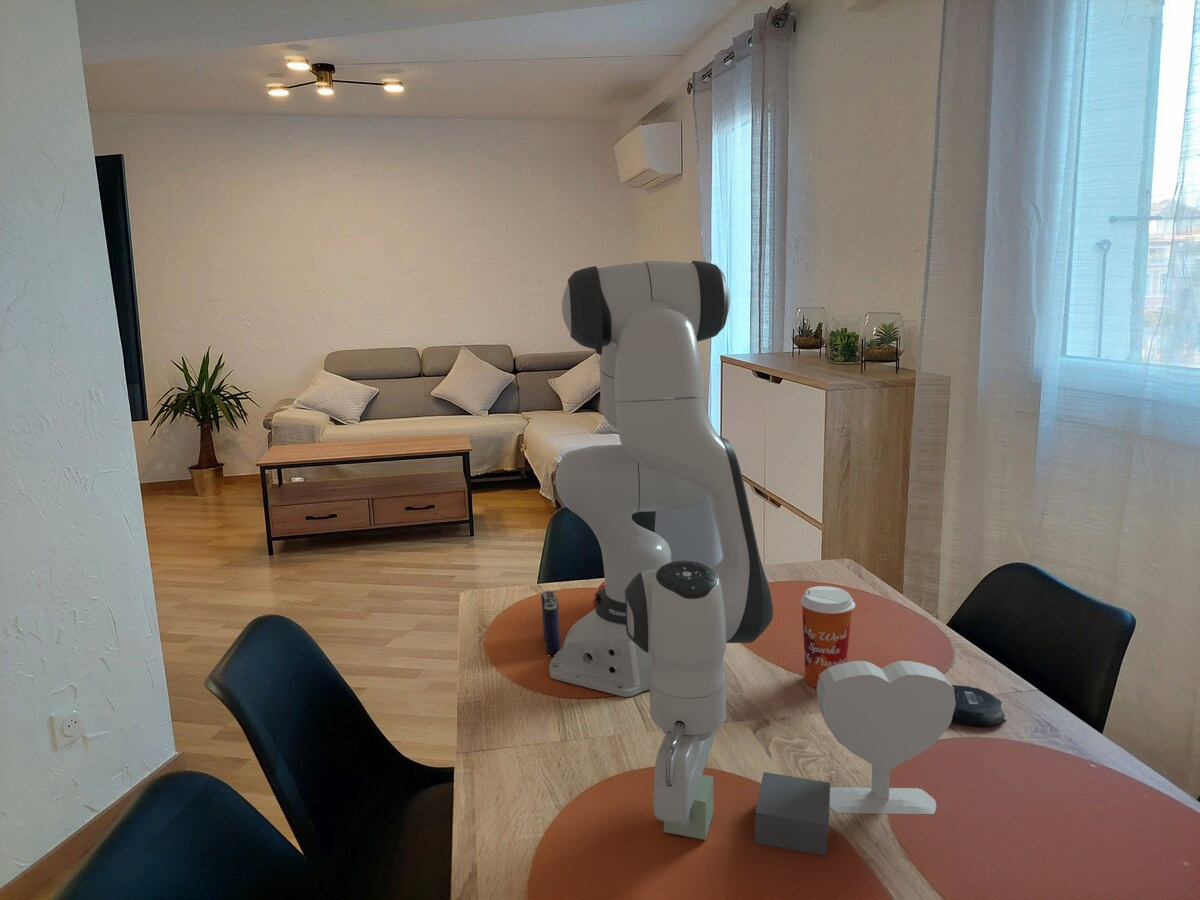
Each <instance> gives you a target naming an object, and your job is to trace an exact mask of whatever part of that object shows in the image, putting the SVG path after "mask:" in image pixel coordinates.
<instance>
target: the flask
mask: <svg viewBox="0 0 1200 900" xmlns="http://www.w3.org/2000/svg"><path fill="white" fill-rule="evenodd" d="M556 592H557V590H556V589H554V590H547V589H546V590H544V591H543V592H541V595H540V596H541V597H540V599H541V611H542V612H541V613H542V626H543V627H542V628H543V630H542V631H543V641H544V642H545V641H546V646H545V647H546V648H545V649H546V650H545V651H546V656H547V655H550V656H554V655H555V654H556V653H557V652H558V651H559V650H560V649H561V648H562V645H561V646H560V644H561V633H560V630H561V629H560V616H559V615H560V614H559V613H560V612H559V601H558V600H559V599H558V597H557V596H556V594H555V593H556Z"/></svg>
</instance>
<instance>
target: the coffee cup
mask: <svg viewBox="0 0 1200 900" xmlns="http://www.w3.org/2000/svg"><path fill="white" fill-rule="evenodd" d="M800 604H801V605H802V629H803V630H802V631H803V651H804V652H803V653H804V670H805V682H806V684H808V685H809V686H810V687H812V688H814V689H817V684H818V679H819V674H821V673H822V672H823V671H824V670H826V669H827V668H829V667H832V666H835V665H838V664H842V663H847V662H848V661H847V660H848V659H847V658H848V652H849V651H848V650H849V649H848V648H849V641H850V640H849V639H850V630H851V620H852V619H851V618H852V612H853V611H852V610H853V609H855V608H856V602H855V601H854V599H853V598H852V596H851V595H850V593H849V592H848V591H846V590H844V589H842V588H839V587H834V586H826V585H825V586H824V585H823V586H819V585H818V586H812V587H809V588H807V589H805V591H804V593H803V595H802V597H801V598H800Z"/></svg>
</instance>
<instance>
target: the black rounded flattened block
mask: <svg viewBox="0 0 1200 900" xmlns="http://www.w3.org/2000/svg"><path fill="white" fill-rule="evenodd" d="M951 685H952V687H953V688H954V693H955V702H956V705H955V709H954V713H953V717H952V721H951V722H955V723H957V724H962V725H967V726H973V727H975V726H976V727H977V728H978V727H979V728H981V727H993V726H995V725H998V724H1000V723H1001V722H1002V721H1003V720H1004V719H1005V718H1006V714H1004V712H1003V709H1002V704H1003V702H1002V701H1001V699H999V698H998V697H997V696H995V695H994V694H992V693H990V692H989V691H986V690H983V689H980V688H979V687H972V686H969V685H968V686H967V685H958V684H955V685H954V684H951Z"/></svg>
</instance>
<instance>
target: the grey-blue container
mask: <svg viewBox="0 0 1200 900" xmlns="http://www.w3.org/2000/svg"><path fill="white" fill-rule="evenodd" d="M654 518H655V519H654V533H656V534H658V535H659V536H661V537H662V538H663V539H664V540H665V541H666V542H667V543H668V545H669V547H670V550H671V562H675V561H693V562H698V563H701V564H704V565H706V566H709V565H716V564H718V563H720V562H721V560H722V557H723V554H722V549H721V545H720V540H719V536H718V531H717V526H716V522H715V517H714V513H713V508H712V504H711V501H710V499H708V500H707V501H706V502H705V503H704V504H701V505H697V506H693V507H689V508H685V509H681V510H671V511H655V517H654Z"/></svg>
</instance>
